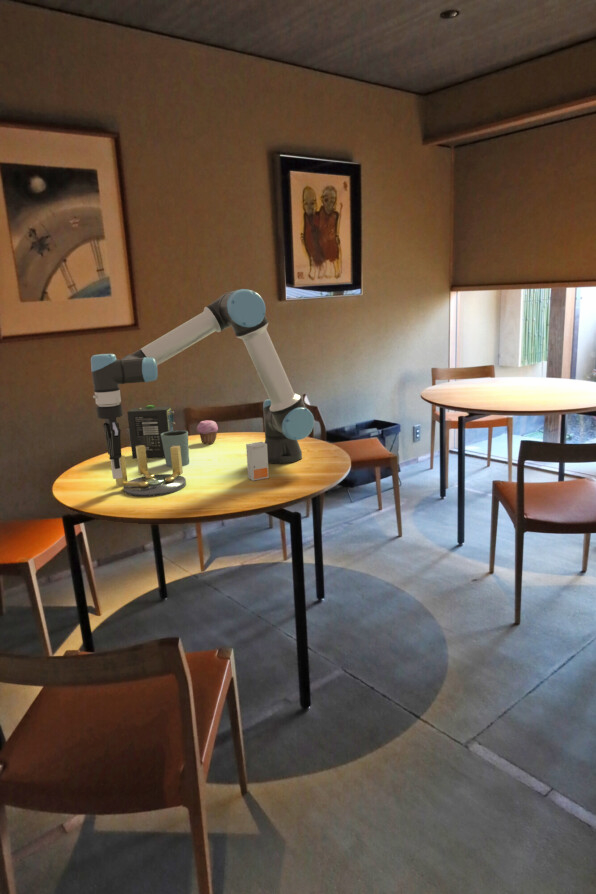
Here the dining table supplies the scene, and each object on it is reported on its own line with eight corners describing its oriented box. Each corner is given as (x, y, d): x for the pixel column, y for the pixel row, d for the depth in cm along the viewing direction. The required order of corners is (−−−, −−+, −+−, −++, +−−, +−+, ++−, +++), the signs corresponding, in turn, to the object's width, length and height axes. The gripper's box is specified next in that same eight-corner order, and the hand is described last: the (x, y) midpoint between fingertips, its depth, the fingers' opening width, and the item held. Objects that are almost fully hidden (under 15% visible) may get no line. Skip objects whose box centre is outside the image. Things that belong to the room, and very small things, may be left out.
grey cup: (182, 468, 223) (178, 436, 220) (158, 466, 226) (155, 435, 223) (195, 461, 232) (193, 430, 229) (172, 459, 235) (169, 429, 233)
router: (174, 457, 240) (169, 407, 235) (129, 459, 240) (123, 409, 235) (179, 452, 247) (174, 403, 243) (134, 454, 248) (129, 405, 243)
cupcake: (194, 443, 261) (192, 420, 259) (211, 439, 267) (209, 417, 264) (206, 446, 255) (204, 423, 252) (223, 442, 260) (221, 419, 258)
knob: (155, 478, 204) (152, 450, 202) (147, 480, 203) (144, 452, 200) (146, 471, 213) (143, 444, 211) (138, 473, 212) (135, 446, 210)
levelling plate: (198, 481, 204) (197, 474, 204) (157, 499, 187) (156, 492, 187) (153, 476, 214) (153, 469, 213) (110, 492, 197) (109, 485, 197)
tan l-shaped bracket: (172, 482, 199) (169, 453, 196) (164, 482, 199) (161, 453, 197) (183, 473, 209) (180, 445, 207) (175, 473, 209) (172, 445, 207)
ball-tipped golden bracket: (150, 485, 197) (146, 456, 195) (145, 487, 194) (142, 458, 192) (121, 483, 200) (117, 455, 198) (116, 486, 197) (112, 457, 195)
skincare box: (252, 481, 202) (250, 446, 199) (247, 478, 206) (245, 443, 203) (269, 478, 205) (267, 443, 202) (264, 475, 208) (262, 441, 205)
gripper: (91, 403, 192) (101, 475, 197) (100, 408, 181) (110, 484, 186) (115, 400, 196) (124, 471, 201) (126, 405, 185) (134, 480, 190)
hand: (117, 477), depth 194 cm, fingers closed
